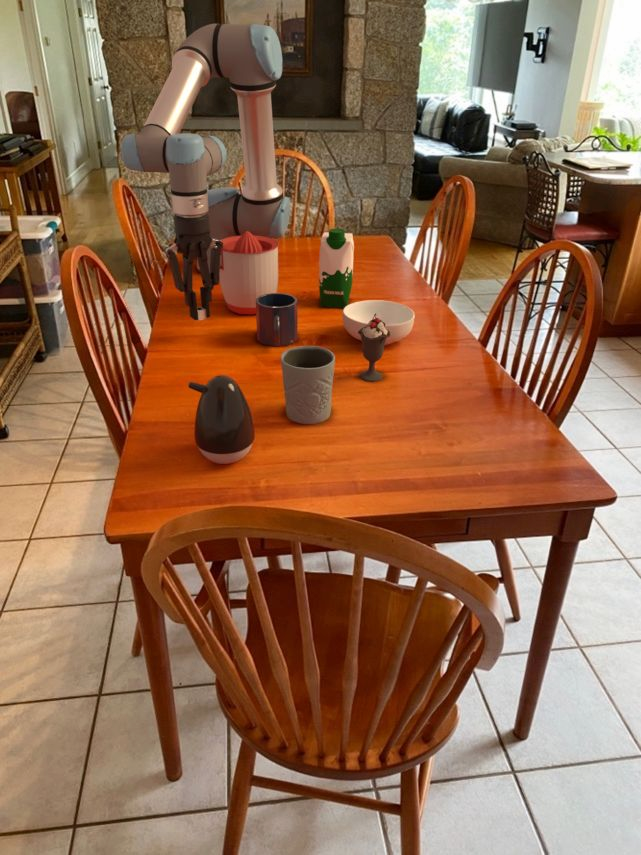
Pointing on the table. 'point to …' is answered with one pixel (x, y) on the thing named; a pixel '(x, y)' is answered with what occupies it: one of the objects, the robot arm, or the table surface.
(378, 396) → the table surface
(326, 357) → the grey embossed cup
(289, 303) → the mug
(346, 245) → the milk carton
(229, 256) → the citrus juicer
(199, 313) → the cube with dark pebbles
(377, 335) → the sundae
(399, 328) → the cereal bowl
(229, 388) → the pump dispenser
